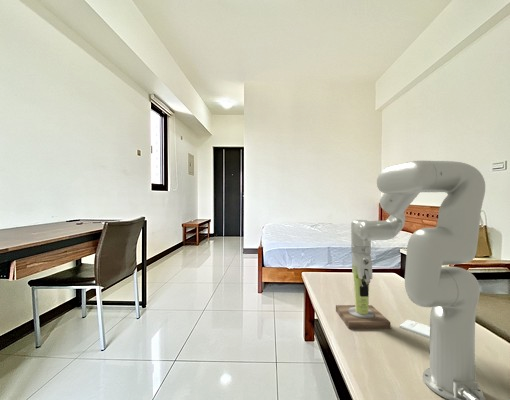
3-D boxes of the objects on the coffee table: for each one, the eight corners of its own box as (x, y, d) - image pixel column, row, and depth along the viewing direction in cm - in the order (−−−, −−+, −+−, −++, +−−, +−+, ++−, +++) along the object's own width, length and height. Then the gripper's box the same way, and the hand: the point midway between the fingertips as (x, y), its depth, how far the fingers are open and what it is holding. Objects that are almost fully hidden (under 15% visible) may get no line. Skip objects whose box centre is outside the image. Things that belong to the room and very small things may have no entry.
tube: (363, 316, 103) (363, 267, 103) (352, 312, 108) (351, 265, 107) (371, 312, 107) (370, 265, 107) (359, 308, 111) (359, 262, 111)
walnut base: (390, 328, 100) (390, 320, 100) (348, 328, 100) (348, 320, 100) (371, 310, 116) (371, 304, 116) (335, 310, 116) (335, 304, 116)
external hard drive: (437, 342, 91) (399, 329, 100) (444, 334, 96) (407, 322, 106) (437, 338, 91) (399, 324, 100) (444, 330, 96) (407, 318, 106)
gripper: (379, 254, 99) (380, 301, 99) (361, 246, 116) (361, 286, 116) (360, 254, 99) (360, 301, 99) (344, 246, 116) (345, 286, 116)
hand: (361, 293), depth 107 cm, fingers open, 5 cm apart
